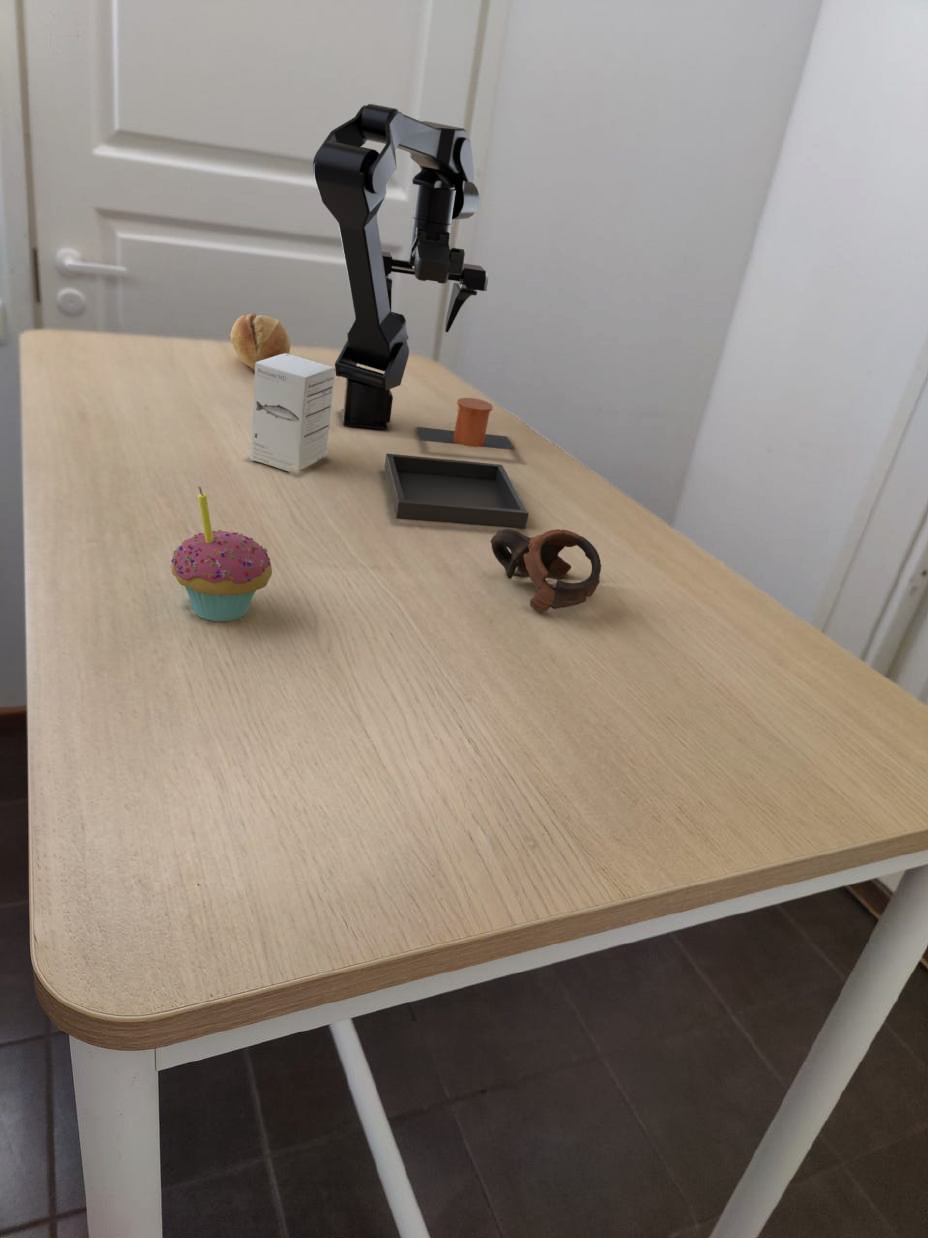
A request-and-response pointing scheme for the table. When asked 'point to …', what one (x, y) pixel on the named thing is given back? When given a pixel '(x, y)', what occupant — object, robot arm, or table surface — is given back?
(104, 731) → the table surface
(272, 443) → the white packaging box
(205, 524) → the cupcake
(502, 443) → the mat
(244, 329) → the bread roll
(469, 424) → the orange cylinder
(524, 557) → the broken pottery
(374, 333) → the robot arm
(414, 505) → the tray
